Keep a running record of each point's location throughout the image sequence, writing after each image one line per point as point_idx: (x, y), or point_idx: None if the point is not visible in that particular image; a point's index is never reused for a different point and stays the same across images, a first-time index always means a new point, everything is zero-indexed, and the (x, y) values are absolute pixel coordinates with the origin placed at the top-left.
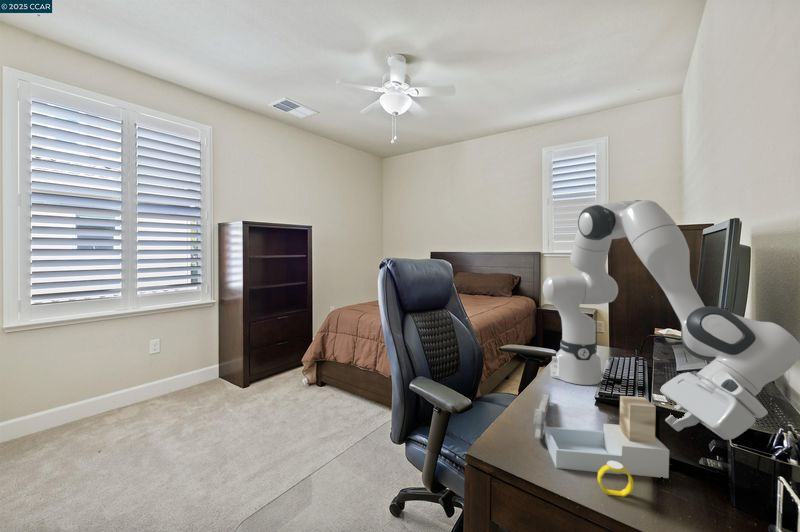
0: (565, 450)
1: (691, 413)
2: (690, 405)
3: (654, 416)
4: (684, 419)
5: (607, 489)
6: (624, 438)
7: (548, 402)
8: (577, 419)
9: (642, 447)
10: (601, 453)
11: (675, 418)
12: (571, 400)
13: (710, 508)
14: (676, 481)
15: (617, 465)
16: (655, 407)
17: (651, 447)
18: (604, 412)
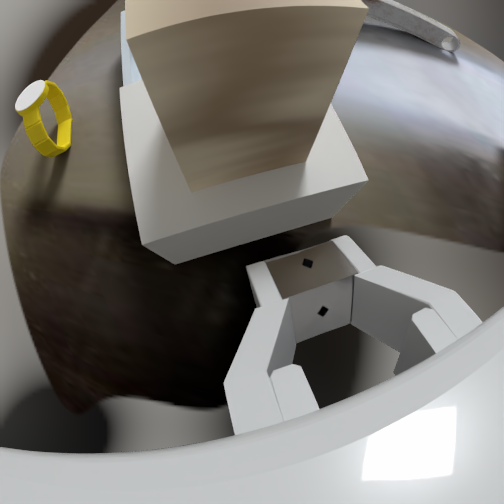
0: (122, 20)
1: (217, 440)
2: (338, 482)
3: (152, 99)
4: (237, 354)
5: (69, 120)
6: None
7: (438, 39)
8: (419, 81)
9: (127, 143)
10: (126, 68)
11: (354, 301)
12: (497, 101)
13: (74, 338)
14: (167, 285)
15: (25, 99)
16: (129, 44)
17: (139, 174)
18: (498, 158)
